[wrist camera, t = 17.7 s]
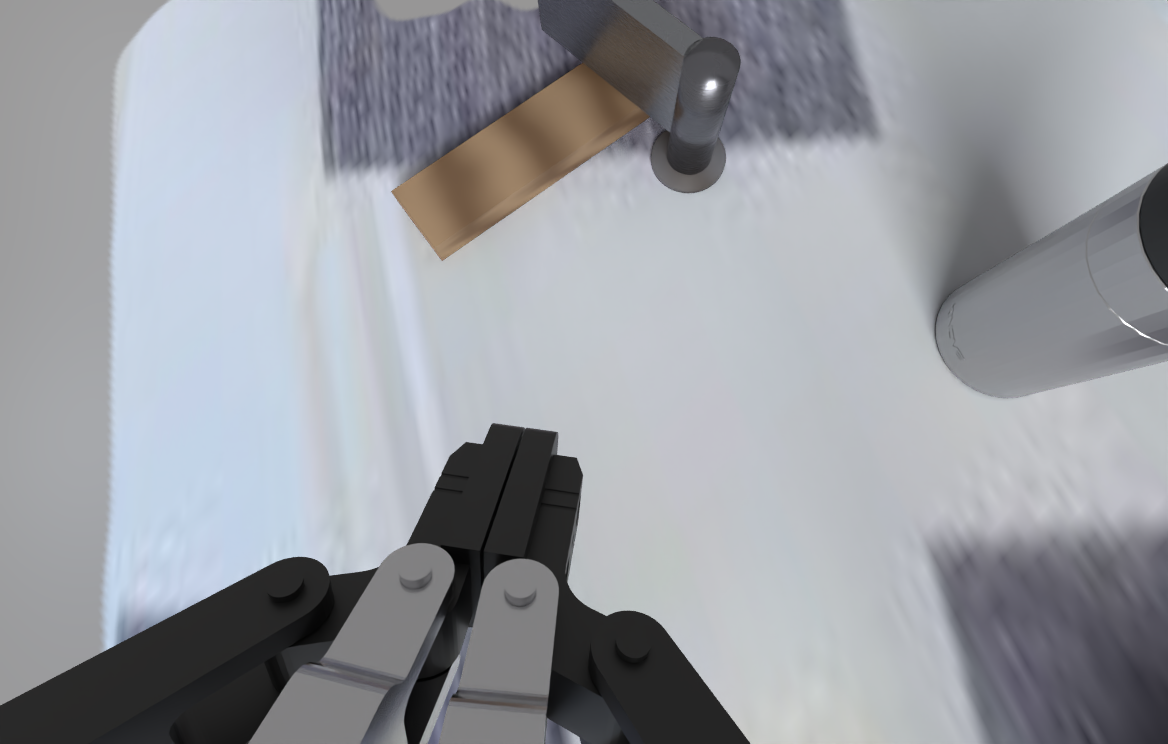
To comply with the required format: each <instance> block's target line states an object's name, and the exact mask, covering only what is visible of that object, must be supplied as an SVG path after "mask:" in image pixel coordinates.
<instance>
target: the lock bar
mask: <svg viewBox="0 0 1168 744" xmlns="http://www.w3.org/2000/svg"><path fill="white" fill-rule="evenodd" d="M538 5H539V12H540V20H541V27H542V30H543V31H544V32H546V33H547V34H548V35H549V36H551V37H552V38H553V39H554V40H556V41H557V42H558V43H559V44H560V45H562V46H563V47H564V48H565V49H567V50H568V51H569V52H570V53H572V54H573V55H574V56H575V57H577V58H578V59H579V60H580V61H582V62H583V63H584V64H585V65H587V66H588V67H589V68H590V69H591V70H593V71H594V72H595V73H596V74H598V75H599V76H600V77H601V78H603V79H604V80H605V81H606V82H608V83H609V84H610V85H611V86H613V87H614V88H615V89H616V90H618V91H619V92H620V93H621V94H623V95H624V96H625V97H626V98H627V99H629V100H630V101H631V102H632V103H634V104H635V105H636V106H637V107H639V108H640V109H641V110H642V111H644V112H645V113H646V114H647V115H649V116H650V117H651V118H652V119H654V120H655V121H656V122H657V123H659V124H660V125H661V126H662V127H663V128H665V129H666V130H667V131H668V132H670V137H669V142H668V148H667V160H668V163H669V164H670V166H671V167H672V168H673V169H674V170H675V171H677V172H679V173H681V174H685V175H694V174H697V173H700V172H702V171H703V170H705V169H706V168H707V167H708V165H709V163H710V161H711V158H712V155H713V152H714V148H715V145H716V142H717V139H718V136H719V132H720V129H721V126H722V123H723V120H724V116H725V113H726V110H727V107H728V104H729V100H730V97H731V94H732V91H733V88H734V84H735V81H736V78H737V75H738V72H739V68H740V56H739V53H738V51H737V50H736V48H735V47H734V46H733V45H732V44H731V43H729V42H728V41H726V40H724V39H721V38H716V37H707V38H702V37H700V36H699V35H698V34H696V33H695V32H694V31H692V30H691V29H690V28H689V27H687V26H686V25H685V24H683V23H682V22H681V21H679V20H678V19H677V18H675V17H674V16H673V15H671V14H670V13H669V12H667V11H666V10H665V9H664V8H662V7H661V6H660V5H658V4H657V3H656V2H654V1H653V0H538Z"/></svg>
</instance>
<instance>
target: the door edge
mask: <svg viewBox="0 0 1168 744" xmlns="http://www.w3.org/2000/svg"><path fill="white" fill-rule="evenodd" d="M649 117H650V116H649V115H647V114H646V113H645V112H644V111H642V110H641V109H640V108H639V107H637V106H636V105H635V104H634V103H632V102H631V101H630V100H629V99H627V98H626V97H625V96H624V95H623V94H621V93H620V92H619V91H618V90H616V89H615V88H614V87H613V86H611V85H610V84H609V83H608V82H606V81H605V80H604V79H603V78H601V77H600V76H599V75H598V74H596V73H595V72H594V71H593V70H591V69H590V68H589V67H588V66H587V65H585V64H584V63H582V64H580V65H579V66H577V67H576V68H574V69H573V70H571V71H570V72H568V73H567V74H565V75H564V76H562V77H561V78H559V79H558V80H556V81H555V82H553V83H552V84H550V85H549V86H547V87H546V88H544V89H543V90H541V91H540V92H538V93H537V94H535V95H534V96H532V97H531V98H529V99H528V100H526V101H525V102H523V103H522V104H520V105H519V106H517V107H516V108H515V109H513V110H512V111H510V112H509V113H507V114H506V115H504V116H503V117H501V118H500V119H498V120H497V121H495V122H494V123H492V124H491V125H489V126H488V127H486V128H485V129H483V130H482V131H480V132H479V133H477V134H476V135H474V136H473V137H471V138H470V139H468V140H467V141H465V142H464V143H462V144H461V145H459V146H458V147H456V148H455V149H453V150H452V151H450V152H449V153H447V154H446V155H444V156H443V157H441V158H440V159H438V160H437V161H436V162H434V163H433V164H431V165H430V166H428V167H427V168H425V169H424V170H422V171H421V172H419V173H418V174H416V175H415V176H413V177H412V178H410V179H409V180H407V181H406V182H404V183H403V184H401V185H400V186H398V187H397V188H395V189H394V190H392V191H391V192H392V193H393V195H394V196H395V198H396V199H397V201H398V202H399V203H400V205H401V206H402V208H403V209H404V210H405V212H406V213H407V214H408V216H409V217H410V218H411V220H412V221H413V223H414V224H415V225H416V227H417V228H418V229H419V231H420V232H421V233H422V235H423V236H424V237H425V239H426V240H427V241H428V243H429V244H430V245H431V247H432V248H433V249H434V251H435V252H436V253H437V255H438V256H439V258H440V259H441V260H442V261H443V260H444V259H446V258H447V257H448V256H450V255H451V254H453V253H454V252H456V251H457V250H459V249H460V248H461V247H463V246H464V245H466V244H467V243H469V242H470V241H472V240H473V239H474V238H476V237H477V236H479V235H480V234H482V233H483V232H485V231H486V230H487V229H489V228H490V227H492V226H493V225H495V224H496V223H498V222H499V221H500V220H502V219H503V218H505V217H506V216H508V215H509V214H511V213H512V212H513V211H515V210H516V209H518V208H519V207H521V206H522V205H524V204H525V203H526V202H528V201H529V200H531V199H532V198H534V197H535V196H537V195H538V194H539V193H541V192H542V191H544V190H545V189H547V188H548V187H550V186H551V185H552V184H554V183H555V182H557V181H558V180H560V179H561V178H563V177H564V176H565V175H567V174H568V173H570V172H571V171H573V170H574V169H576V168H577V167H578V166H580V165H581V164H583V163H584V162H586V161H587V160H589V159H590V158H591V157H593V156H594V155H596V154H597V153H599V152H600V151H602V150H603V149H604V148H606V147H607V146H609V145H610V144H612V143H613V142H615V141H616V140H617V139H619V138H620V137H622V136H623V135H625V134H626V133H628V132H629V131H630V130H632V129H633V128H635V127H636V126H638V125H639V124H641V123H642V122H643V121H645V120H646V119H648V118H649ZM669 137H670V132H668V131H667V130H666V131H665V132H663V133H662V134H661V135H660V136H659V137H658V139H657V140H656V142H655V143H654V146H653V149H652V154H651V165H652V169H653V171H654V173H655V175H656V177H657V178H658V179H659V181H660V182H661V183H662V184H664V185H665V186H666V187H668V188H670V189H672V190H674V191H678V192H682V193H695V192H699V191H703V190H705V189H707V188H709V187H710V186H712V185H713V184H714V183H715V182H716V181H717V180H718V179H719V177H720V176H721V174H722V172H723V169H724V166H725V162H726V154H725V149H724V146H723V144H722V142H721V141H720V139H719V138H718V139H717V142H716V145H715V148H714V152H713V155H712V158H711V161H710V163H709V165H708V167H707V168H706V169H705V170H703V171H702V172H700V173H697V174H694V175H685V174H681V173H679V172H677V171H675V170H674V169H673V168H672V167H671V166H670V164H669V163H668V160H667V148H668V142H669Z"/></svg>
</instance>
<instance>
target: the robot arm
mask: <svg viewBox="0 0 1168 744" xmlns="http://www.w3.org/2000/svg"><path fill="white" fill-rule="evenodd" d="M936 340H937V344H938V348H939V351H940V354H941V355H942V357H943V359H944V361H945V363H946V365H947V366H948V367H949V369H950V370H951V371H952V372H953V374H954V375H955V376H956V377H958V378H959V379H960V380H961V381H962V382H963V383H965V384H966V385H968V386H969V387H971V388H973V389H975V390H976V391H978V392H981V393H984V394H987V395H990V396H995V397H1001V398H1015V397H1021V396H1025V395H1030V394H1034V393H1038V392H1042V391H1046V390H1050V389H1055V388H1059V387H1064V386H1068V385H1072V384H1076V383H1080V382H1084V381H1088V380H1092V379H1096V378H1100V377H1104V376H1109V375H1113V374H1117V373H1121V372H1125V371H1129V370H1133V369H1137V368H1141V367H1145V366H1149V365H1153V364H1157V363H1161V362H1165V361H1168V163H1167V164H1166V165H1164V166H1162V167H1161V168H1159V169H1157V170H1156V171H1154V172H1152V173H1151V174H1149V175H1147V176H1146V177H1144V178H1142V179H1141V180H1139V181H1137V182H1136V183H1134V184H1132V185H1131V186H1129V187H1127V188H1126V189H1124V190H1122V191H1121V192H1119V193H1118V194H1116V195H1114V196H1113V197H1111V198H1109V199H1108V200H1106V201H1104V202H1103V203H1101V204H1099V205H1097V206H1096V207H1094V208H1092V209H1091V210H1089V211H1087V212H1086V213H1084V214H1082V215H1081V216H1079V217H1077V218H1076V219H1074V220H1072V221H1071V222H1069V223H1067V224H1066V225H1064V226H1062V227H1061V228H1059V229H1057V230H1055V231H1054V232H1052V233H1050V234H1049V235H1047V236H1045V237H1044V238H1042V239H1040V240H1039V241H1037V242H1035V243H1034V244H1032V245H1030V246H1029V247H1027V248H1025V249H1024V250H1022V251H1020V252H1018V253H1017V254H1015V255H1013V256H1012V257H1010V258H1008V259H1007V260H1005V261H1003V262H1002V263H1000V264H998V265H997V266H995V267H993V268H991V269H990V270H988V271H986V272H985V273H983V274H981V275H980V276H978V277H976V278H974V279H973V280H971V281H969V282H968V283H966V284H964V285H963V286H961V287H959V288H958V289H957V290H956V291H954V292H953V293H952V294H951V295H949V297H948V298H947V299H946V301H945V302H944V303H943V305H942V307H941V309H940V311H939V314H938V317H937V322H936ZM557 447H558V432H553V431H546V430H539V429H532V428H526V429H525V428H524V427H517V426H509V425H502V424H495V423H493V424H492V425H491V427H490V429H489V431H488V434H487V436H486V438H485V441H484V443H483V444H476V443H469V442H466V443H465V444H463V445H462V446H461V447H460V448H459V449H458V450H456V451H455V452H454V453H453V454H452V455H450V457H449V459H448V461H447V463H446V465H445V467H444V469H443V471H442V475H441V477H439V480H438V482H437V484H436V486H435V490H434V491H433V492H432V494H431V496H430V498H429V500H428V502H427V504H426V506H425V508H424V511H423V513H422V515H421V517H420V519H419V521H418V523H417V525H416V527H415V529H414V531H413V533H412V535H411V537H410V539H409V542H408V543H407V545H406V546H404V547H402V548H399V549H398V550H396V551H394V552H393V553H391V554H390V555H389V556H388V557H387V558H386V559H385V560H384V561H383V562H382V563H381V565H380V566H379V567H378V568H375V569H372V570H368V571H363V572H355V573H348V574H340V575H332V576H329V573H328V571H327V569H326V567H325V566H324V565H323V564H322V563H320V562H319V561H317V560H315V559H312V558H307V557H292V558H287V559H283V560H280V561H277V562H275V563H273V564H271V565H269V566H267V567H265V568H263V569H261V570H259V571H257V572H256V573H254V574H252V575H250V576H248V577H246V578H244V579H242V580H240V581H238V582H236V583H234V584H233V585H231V586H229V587H227V588H225V589H223V590H221V591H219V592H217V593H215V594H213V595H211V596H210V597H208V598H206V599H204V600H202V601H200V602H198V603H196V604H194V605H192V606H190V607H188V608H187V609H185V610H183V611H181V612H179V613H177V614H175V615H173V616H171V617H169V618H167V619H165V620H164V621H162V622H160V623H158V624H156V625H154V626H152V627H150V628H148V629H146V630H144V631H142V632H141V633H139V634H137V635H135V636H133V637H131V638H129V639H127V640H125V641H123V642H121V643H119V644H118V645H116V646H114V647H112V648H110V649H108V650H106V651H104V652H102V653H100V654H98V655H97V656H95V657H93V658H91V659H89V660H87V661H85V662H83V663H81V664H79V665H77V666H75V667H73V668H72V669H70V670H68V671H66V672H64V673H62V674H60V675H58V676H56V677H54V678H52V679H50V680H48V681H47V682H45V683H43V684H41V685H39V686H37V687H35V688H33V689H32V690H29V691H28V692H25V693H24V694H22V695H20V696H18V697H16V698H14V699H12V700H10V701H8V702H6V703H5V704H3V705H1V706H0V744H427V743H428V741H429V738H430V736H431V733H432V731H433V728H434V726H435V723H436V721H437V718H438V716H439V713H440V711H441V708H442V706H443V703H444V701H445V698H446V696H447V693H448V691H449V688H450V686H451V683H452V681H453V678H454V676H455V673H456V671H457V668H458V665H459V662H460V651H461V648H462V645H463V642H464V639H465V635H466V632H467V629H468V627H473V628H472V633H471V637H470V641H469V646H468V650H467V654H466V659H465V663H464V667H463V671H462V676H461V680H460V684H459V687H458V690H457V692H456V694H453V695H452V697H451V699H450V702H449V705H448V708H447V712H446V716H445V720H444V724H443V728H442V732H441V736H440V740H439V744H545V738H546V728H547V718H548V719H550V720H552V721H553V722H555V723H557V724H559V725H560V726H562V727H564V728H565V729H567V730H569V731H570V732H572V733H574V734H575V735H577V736H579V737H580V741H581V744H750V742H749V741H748V740H747V738H746V737H745V736H744V734H743V733H742V732H741V730H740V729H739V728H738V726H737V725H736V724H735V722H734V721H733V720H732V718H731V717H730V716H729V714H728V713H727V712H726V710H725V709H724V708H723V706H722V705H721V704H720V702H719V701H718V700H717V698H716V697H715V696H714V694H713V693H712V692H711V690H710V689H709V688H708V686H707V685H706V684H705V682H704V681H703V680H702V678H701V677H700V676H699V674H698V673H697V672H696V670H695V669H694V668H693V666H692V665H691V664H690V662H689V661H688V660H687V658H686V657H685V656H684V654H683V653H682V652H681V650H680V649H679V648H678V646H677V645H676V644H675V642H674V641H673V640H672V638H671V637H670V636H669V634H668V633H667V632H666V630H665V629H664V628H663V627H662V626H661V625H660V624H659V623H658V622H657V621H656V620H654V619H653V618H651V617H650V616H648V615H645V614H643V613H640V612H636V611H620V612H615V613H613V614H610V615H608V616H605V615H603V614H601V613H599V612H597V611H595V610H593V609H591V608H589V607H588V606H586V605H584V604H583V603H582V602H581V601H579V600H578V599H577V598H576V597H575V595H574V594H573V593H572V591H571V590H570V588H569V586H568V583H567V581H568V576H569V570H570V564H571V558H572V553H573V548H574V541H575V536H576V531H577V525H578V518H579V508H580V499H581V489H582V479H583V474H582V471H581V468H580V466H579V463H578V460H577V458H574V457H567V456H560V455H557Z"/></svg>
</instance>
